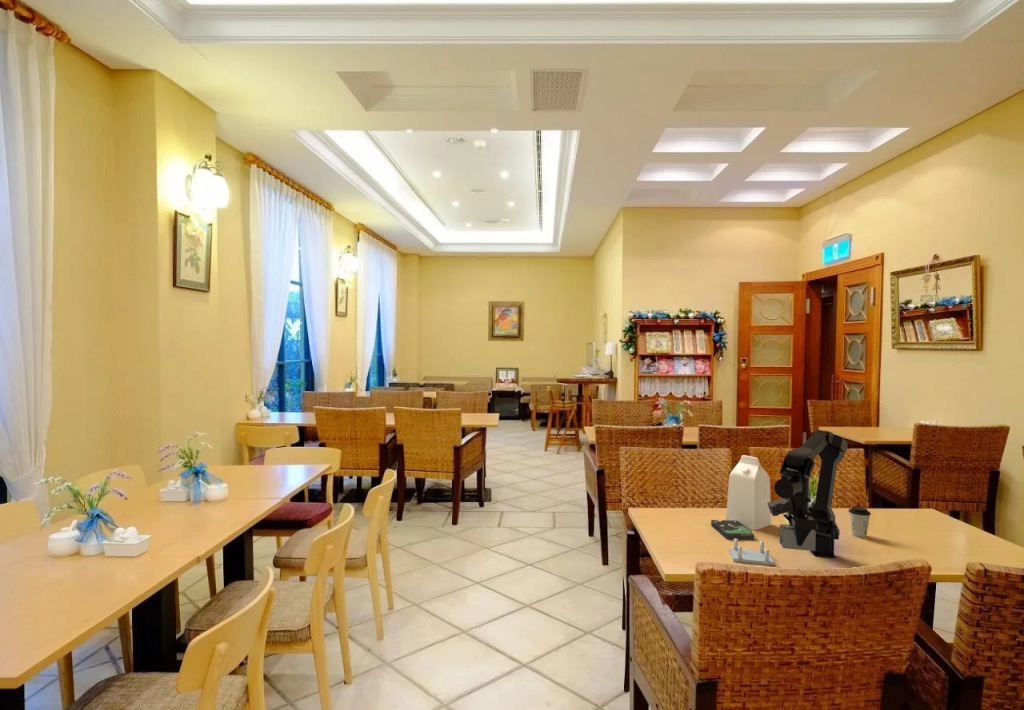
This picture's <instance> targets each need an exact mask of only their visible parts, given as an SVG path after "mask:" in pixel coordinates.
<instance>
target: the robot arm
mask: <svg viewBox="0 0 1024 710" xmlns="http://www.w3.org/2000/svg"><path fill="white" fill-rule="evenodd" d="M847 451H848V442H847V441H846V440H845V439H844V438H843V437H841V436H838V435H836V434H834V433H833V432H831V431H829V430H821V429H816V430H814V431H813V432H812V435H811V436H810V437H809V438H808V439H807V440H806V441H805V443H803V444H802V446H800V447H798V448H797V447H796V448H792V449H791V450H789V451H788V452H787V453H786V454H785V456H784V458H783V461H782V464H781V467H780V470H779V474H780V479H778V480H776V481H775V483H774V485H773V489H774V492H775V494H776V495H777V496H778V497H779V498H780V499H776V500H775V499H774V500H772V501H771V500H770V502H768V503H767V504H768V507H769V510H770V512H771V516H773V517H777V516H779V515H783V517H784V518H785V519H786V521H787V522H788V523H789V524H788V525H792V526H793V527H794V528H795V533H796V540H797V545H798V546H802V544H803V543H804V541H805V539H806V538H807V536H808V534H809V533H810V531H811V530H815V531H816V543H815V551H810V552H811V553H812V555H813V556H815V557H824V558H825V557H827V558H834V559H835V558H836V557H837V556H836V555H835V540H839V539H840V537H839V536H840V533H841V531H840V529H839V527H838V525H837V522H836V515H835V513H834V511H833V509H832V504H833V503H832V502H833V499H834V498H833V496H834V490H835V483H836V475H837V470H838V465H839V463H840V462H841V461H842V460H843V459H844V458H845V455H846V452H847ZM817 456H818V457H819V459H820V469H819V475H818V480H817V485H816V486H817V488H816V492H815V493H816V494H815V501H814V503H813V505H811V506H810V504H809V503H811V502H812V501H811V497H810V478H811V477H812V473H813V471H814V468H815V466H816V463H815V459H816V457H817Z"/></svg>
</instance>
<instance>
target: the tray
mask: <svg viewBox="0 0 1024 710" xmlns="http://www.w3.org/2000/svg"><path fill="white" fill-rule="evenodd" d="M728 552H729V554H730V556H731V559H732V561H733V562H736V563H744V564H745V563H746V564H756V565H767V566H775V561H774V560H773V558H772V556H771V555H770V549H768V548H765V542H764V540H760V541H759V550H754V549H753V550H752V549H743V546H739V539H733V548H732V547H731V548H730V547H728Z"/></svg>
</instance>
